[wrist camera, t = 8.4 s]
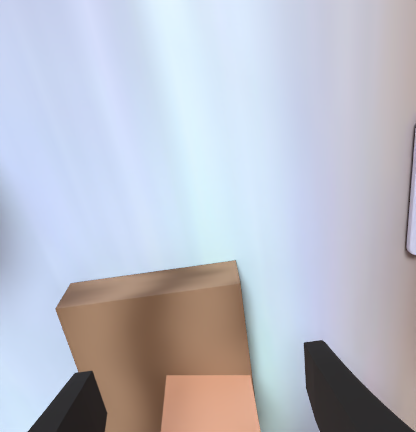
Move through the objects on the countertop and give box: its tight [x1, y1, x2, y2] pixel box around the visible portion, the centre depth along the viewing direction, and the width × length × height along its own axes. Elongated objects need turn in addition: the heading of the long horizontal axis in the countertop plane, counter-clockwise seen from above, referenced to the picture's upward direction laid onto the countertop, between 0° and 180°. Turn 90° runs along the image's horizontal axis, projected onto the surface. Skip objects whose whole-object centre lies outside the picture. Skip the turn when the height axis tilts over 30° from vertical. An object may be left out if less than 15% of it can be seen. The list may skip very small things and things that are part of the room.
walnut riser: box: [56, 260, 255, 432], centre depth 23 cm, size 10×14×2 cm
